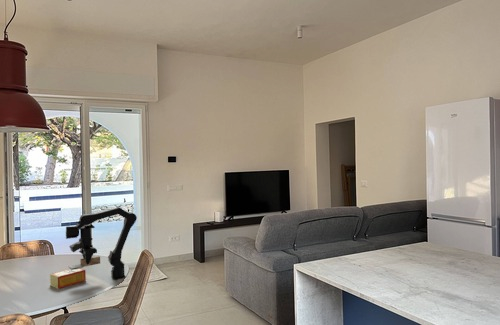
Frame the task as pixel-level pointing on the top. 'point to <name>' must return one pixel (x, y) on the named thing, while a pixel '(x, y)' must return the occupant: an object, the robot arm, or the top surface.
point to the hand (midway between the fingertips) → (86, 263)
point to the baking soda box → (67, 277)
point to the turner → (93, 261)
